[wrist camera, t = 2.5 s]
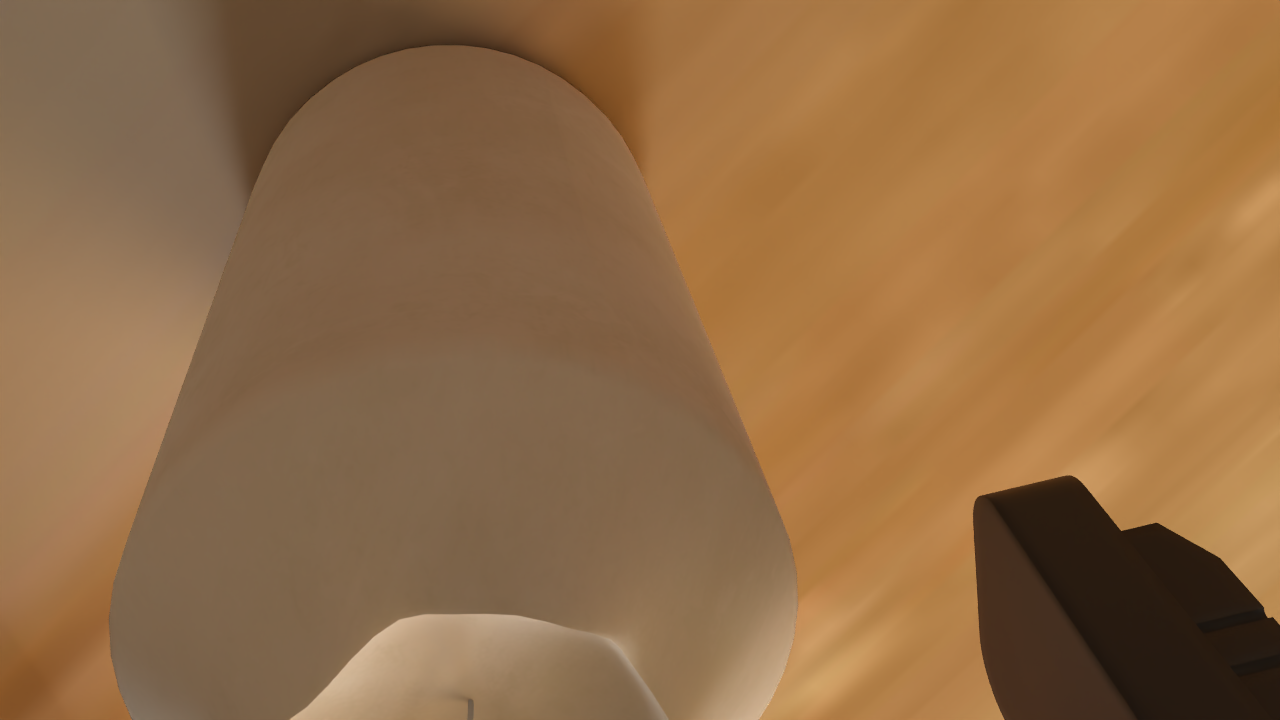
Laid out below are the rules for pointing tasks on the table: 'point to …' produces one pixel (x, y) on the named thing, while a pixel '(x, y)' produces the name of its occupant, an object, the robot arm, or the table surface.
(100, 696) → the table surface
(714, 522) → the candle
